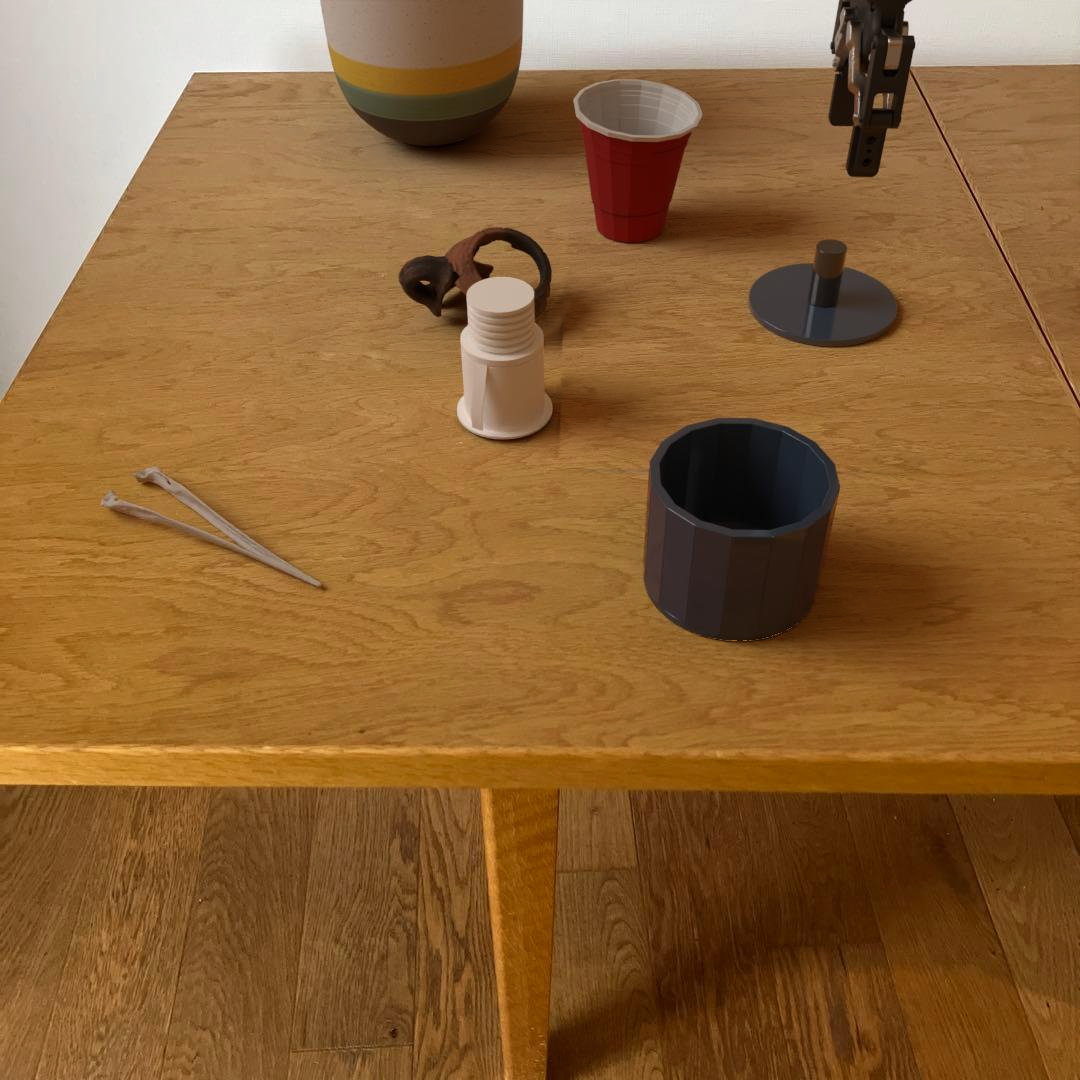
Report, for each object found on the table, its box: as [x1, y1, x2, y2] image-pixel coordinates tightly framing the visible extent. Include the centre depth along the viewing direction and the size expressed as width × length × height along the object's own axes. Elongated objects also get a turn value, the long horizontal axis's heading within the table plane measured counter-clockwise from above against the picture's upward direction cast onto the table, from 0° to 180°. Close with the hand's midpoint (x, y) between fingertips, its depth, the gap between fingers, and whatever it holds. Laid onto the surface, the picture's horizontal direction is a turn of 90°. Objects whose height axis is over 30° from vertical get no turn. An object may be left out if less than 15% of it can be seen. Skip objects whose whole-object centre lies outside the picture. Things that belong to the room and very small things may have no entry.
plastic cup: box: [572, 78, 704, 244], centre depth 103 cm, size 11×11×12 cm
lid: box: [747, 238, 898, 348], centre depth 95 cm, size 12×12×6 cm
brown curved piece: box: [398, 226, 553, 321], centre depth 95 cm, size 12×10×8 cm
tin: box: [642, 417, 841, 642], centre depth 72 cm, size 11×11×8 cm
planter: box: [319, 0, 524, 147], centre depth 116 cm, size 20×20×21 cm
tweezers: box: [100, 465, 323, 589], centre depth 78 cm, size 17×5×2 cm, turn 57°
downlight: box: [456, 276, 554, 440], centre depth 85 cm, size 8×7×10 cm
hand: (851, 148), depth 88 cm, fingers open, 8 cm apart
